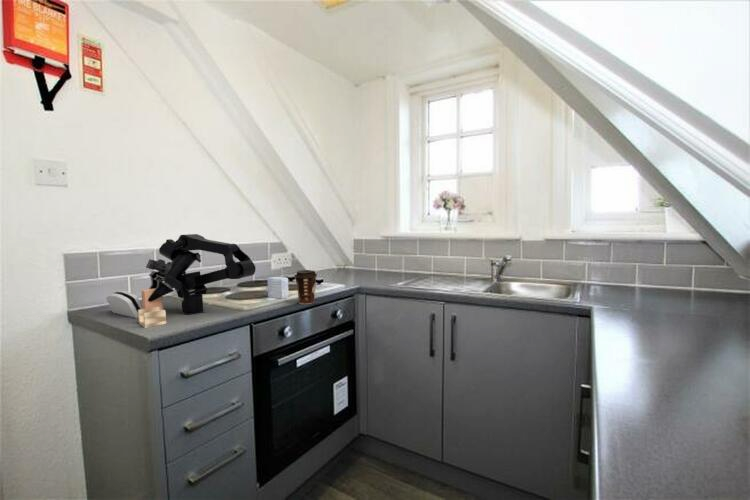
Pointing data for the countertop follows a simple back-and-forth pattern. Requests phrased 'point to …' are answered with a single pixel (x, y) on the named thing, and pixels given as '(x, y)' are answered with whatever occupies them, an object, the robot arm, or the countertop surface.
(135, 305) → the white dark-banded wedge
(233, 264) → the robot arm
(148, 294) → the peach tall block
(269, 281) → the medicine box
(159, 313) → the tan wooden block
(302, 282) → the coffee cup
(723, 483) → the countertop surface
